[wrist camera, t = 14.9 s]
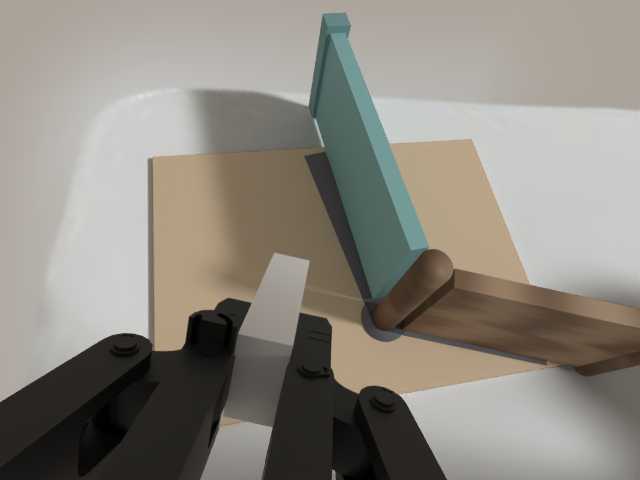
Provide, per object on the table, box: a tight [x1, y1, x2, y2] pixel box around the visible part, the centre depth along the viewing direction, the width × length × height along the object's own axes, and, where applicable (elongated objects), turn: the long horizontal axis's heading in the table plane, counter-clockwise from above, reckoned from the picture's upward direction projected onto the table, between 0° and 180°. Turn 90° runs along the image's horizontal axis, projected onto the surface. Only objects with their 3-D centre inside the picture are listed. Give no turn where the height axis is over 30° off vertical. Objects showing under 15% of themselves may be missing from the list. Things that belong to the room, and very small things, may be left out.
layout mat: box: [153, 139, 562, 426], centre depth 35 cm, size 30×22×1 cm
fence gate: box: [309, 13, 429, 299], centre depth 32 cm, size 20×2×10 cm, turn 14°
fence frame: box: [372, 249, 640, 376], centre depth 28 cm, size 18×2×11 cm, turn 80°
